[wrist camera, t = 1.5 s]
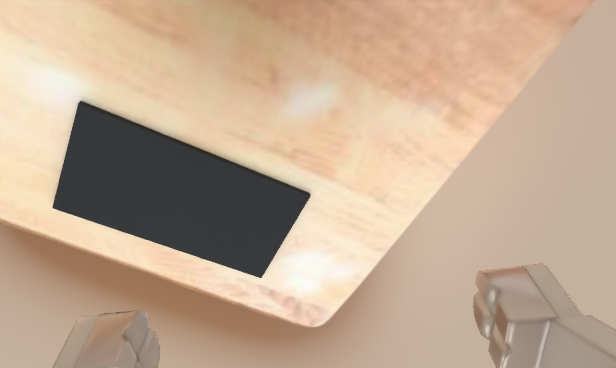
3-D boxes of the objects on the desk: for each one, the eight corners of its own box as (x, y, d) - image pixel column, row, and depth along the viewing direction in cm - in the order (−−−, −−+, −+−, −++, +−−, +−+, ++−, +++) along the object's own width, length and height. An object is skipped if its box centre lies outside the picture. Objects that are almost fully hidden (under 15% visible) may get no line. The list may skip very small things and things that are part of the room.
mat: (54, 205, 43) (52, 208, 43) (80, 100, 38) (78, 103, 37) (261, 275, 49) (261, 278, 49) (310, 193, 44) (310, 196, 43)
